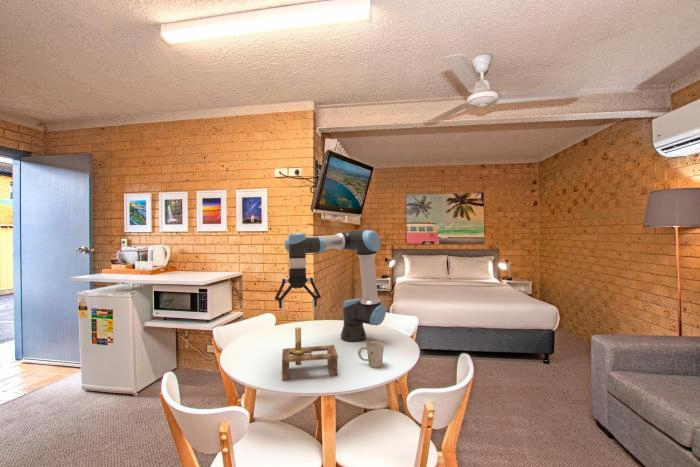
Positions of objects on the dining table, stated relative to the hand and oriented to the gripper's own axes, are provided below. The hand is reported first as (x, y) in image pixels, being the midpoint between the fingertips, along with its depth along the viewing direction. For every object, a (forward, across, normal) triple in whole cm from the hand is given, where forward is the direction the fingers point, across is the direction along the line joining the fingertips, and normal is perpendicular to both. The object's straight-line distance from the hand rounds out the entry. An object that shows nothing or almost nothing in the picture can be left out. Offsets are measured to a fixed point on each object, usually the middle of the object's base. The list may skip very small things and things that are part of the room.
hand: (298, 314), depth 146 cm
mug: (+26, -34, -2) cm, 43 cm away
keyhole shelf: (+26, -5, 0) cm, 26 cm away
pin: (+22, 0, 0) cm, 22 cm away
